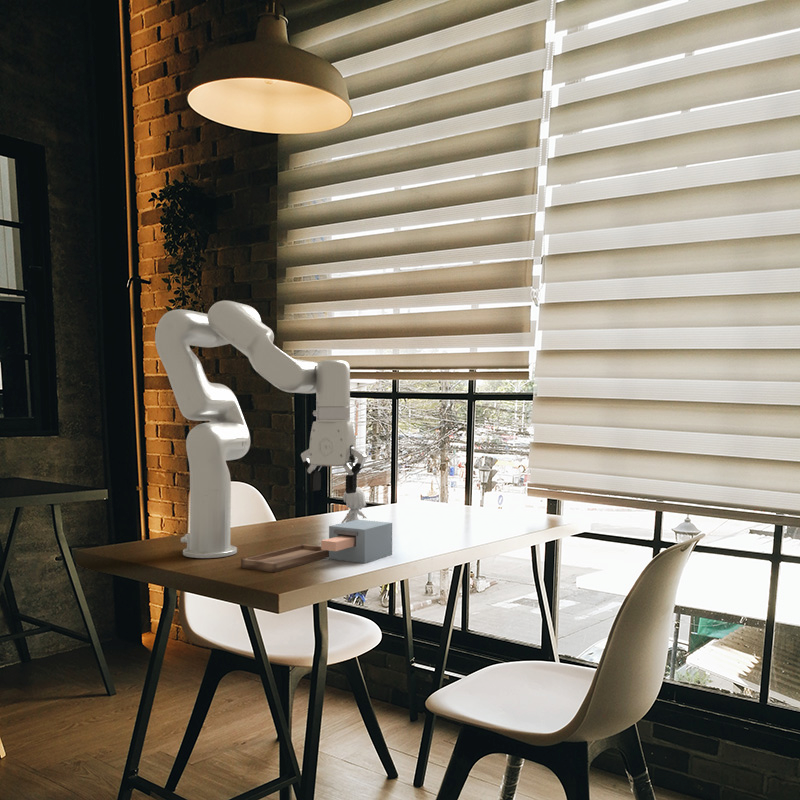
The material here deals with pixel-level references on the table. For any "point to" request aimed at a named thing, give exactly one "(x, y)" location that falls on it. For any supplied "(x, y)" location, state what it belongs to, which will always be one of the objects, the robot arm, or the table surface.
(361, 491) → the figurine
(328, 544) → the pink rectangular bar
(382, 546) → the dispenser
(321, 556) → the tray
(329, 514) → the table surface
